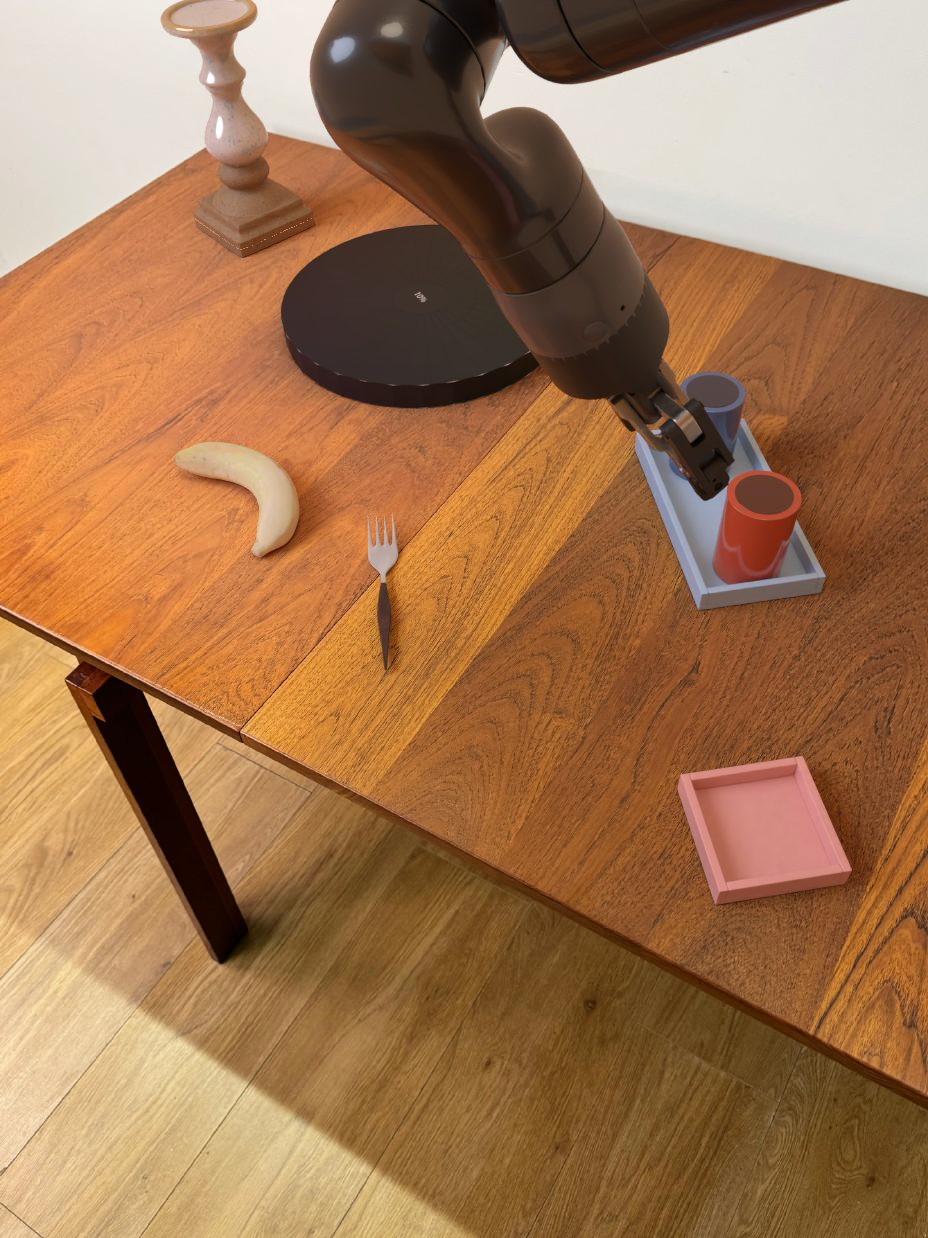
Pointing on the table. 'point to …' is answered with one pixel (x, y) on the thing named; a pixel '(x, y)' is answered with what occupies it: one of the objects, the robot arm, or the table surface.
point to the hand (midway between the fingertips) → (676, 453)
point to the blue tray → (698, 528)
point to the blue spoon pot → (717, 405)
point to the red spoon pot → (755, 527)
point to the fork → (383, 580)
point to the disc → (401, 322)
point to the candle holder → (234, 134)
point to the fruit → (250, 486)
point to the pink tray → (762, 830)
